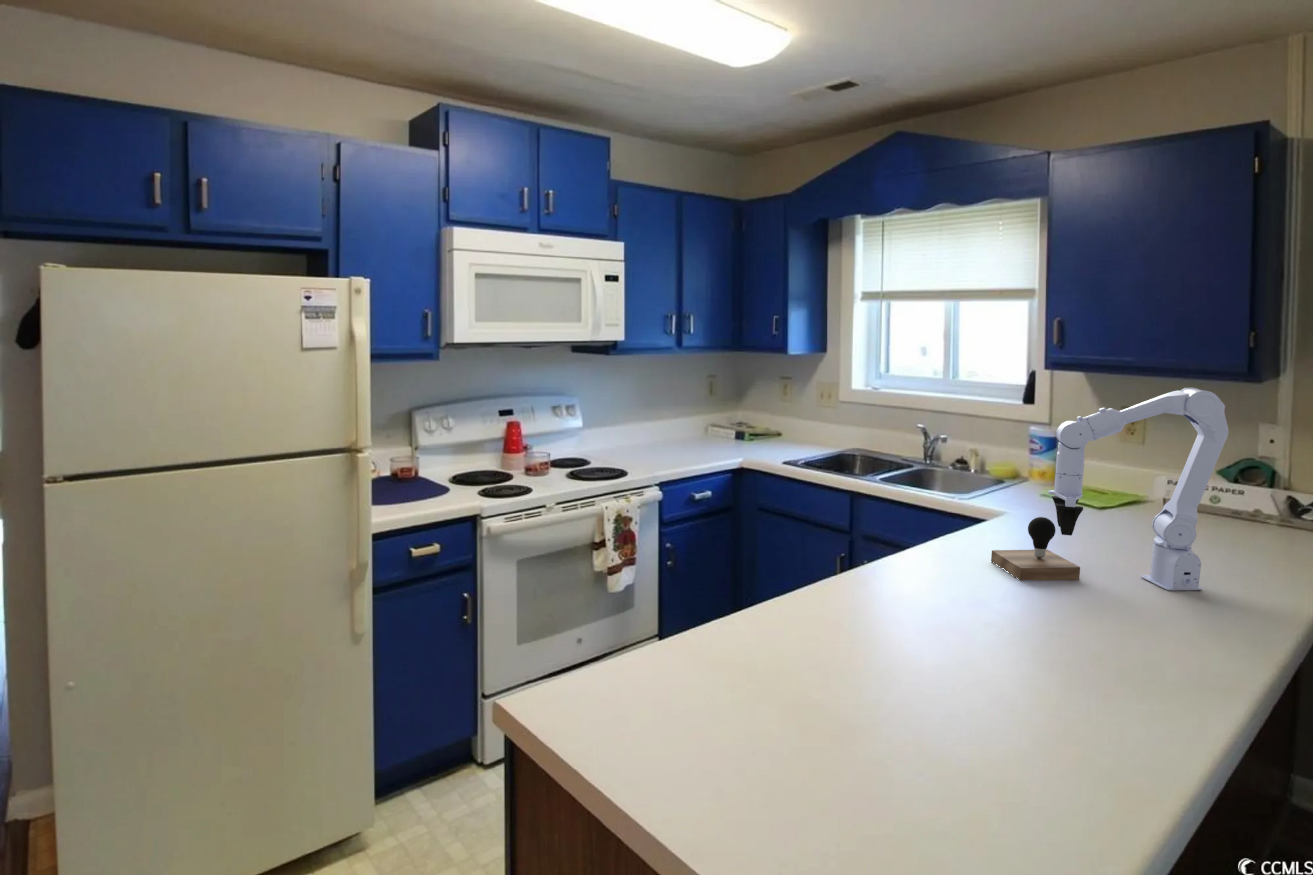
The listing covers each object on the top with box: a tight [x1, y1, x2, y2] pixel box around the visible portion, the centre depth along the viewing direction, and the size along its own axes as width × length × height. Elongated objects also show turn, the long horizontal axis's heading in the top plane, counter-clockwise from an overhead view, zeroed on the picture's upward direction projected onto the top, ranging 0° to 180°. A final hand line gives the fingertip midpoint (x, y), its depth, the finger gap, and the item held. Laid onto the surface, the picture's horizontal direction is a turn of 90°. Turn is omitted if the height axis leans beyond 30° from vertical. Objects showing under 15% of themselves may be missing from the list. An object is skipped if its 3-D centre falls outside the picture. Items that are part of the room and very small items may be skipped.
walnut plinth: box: [990, 549, 1081, 581], centre depth 189 cm, size 14×14×3 cm
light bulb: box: [1027, 516, 1056, 559], centre depth 187 cm, size 6×6×10 cm
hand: (1064, 530), depth 185 cm, fingers open, 7 cm apart
